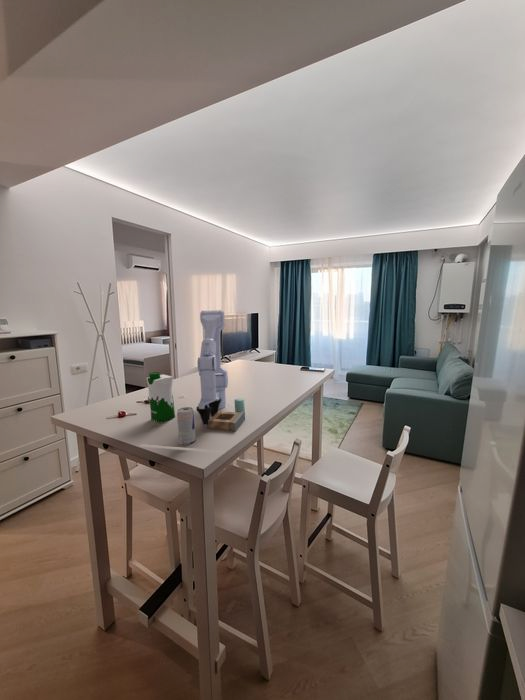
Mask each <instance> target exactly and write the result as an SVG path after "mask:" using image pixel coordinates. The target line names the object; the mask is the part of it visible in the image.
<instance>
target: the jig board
mask: <svg viewBox="0 0 525 700" xmlns="http://www.w3.org/2000/svg"><path fill="white" fill-rule="evenodd" d="M245 420H246V411H242V412H241V414H240V415H239V416H238V417H237V418H236V419H235V421H234V422H233V423H232V424H233V430H232V432H234V433H236V431H237V430H238V429H239V428H240V426H241V425H242V424H243V423H244V421H245Z"/></svg>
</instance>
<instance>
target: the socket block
mask: <svg viewBox="0 0 525 700" xmlns="http://www.w3.org/2000/svg"><path fill="white" fill-rule="evenodd" d="M240 414H241V413H239V412H235V411H219V410H218V412H217V413H216V414H215V415H214V416H213V417H210V420H208V425H207V427H208V429H213V430H214V429H215V430H226V431H233V424H232V423H233V422H234V421H235V419H236V418H237V417H238V416H239V415H240Z"/></svg>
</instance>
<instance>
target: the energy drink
mask: <svg viewBox="0 0 525 700" xmlns="http://www.w3.org/2000/svg"><path fill="white" fill-rule="evenodd" d="M176 416H177V417H176V418H177V428H178V430H177V431H178V441H179V444H180V445H183V446H186V445H187V446H188V445H191V444H193V443H195V442H196V441H197V440H196V430H195V429H196V426H195V413H194V409H193V408H192V407H190V406H187V407H186V406H185V407H180V408H179V409H178V408H177V412H176Z"/></svg>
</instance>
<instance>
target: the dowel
mask: <svg viewBox="0 0 525 700" xmlns="http://www.w3.org/2000/svg"><path fill="white" fill-rule="evenodd" d="M245 409H246V408H245V399H244V398H238V397H237V398H235V399H234V412H239V413H241V412H242V411H245ZM245 412H246V411H245Z"/></svg>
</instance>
